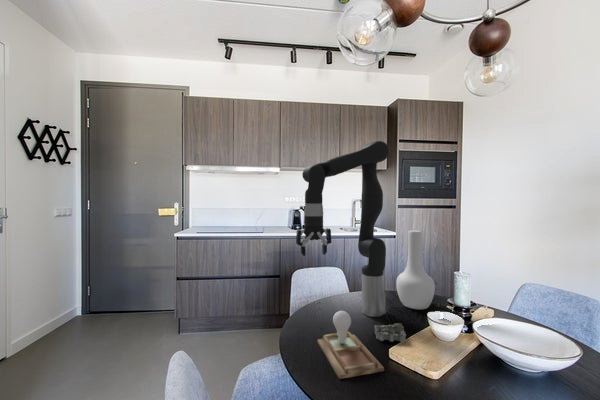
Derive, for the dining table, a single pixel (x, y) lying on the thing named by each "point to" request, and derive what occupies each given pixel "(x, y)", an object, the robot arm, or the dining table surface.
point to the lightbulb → (342, 325)
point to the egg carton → (392, 329)
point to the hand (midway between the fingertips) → (313, 254)
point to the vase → (415, 277)
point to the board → (349, 356)
